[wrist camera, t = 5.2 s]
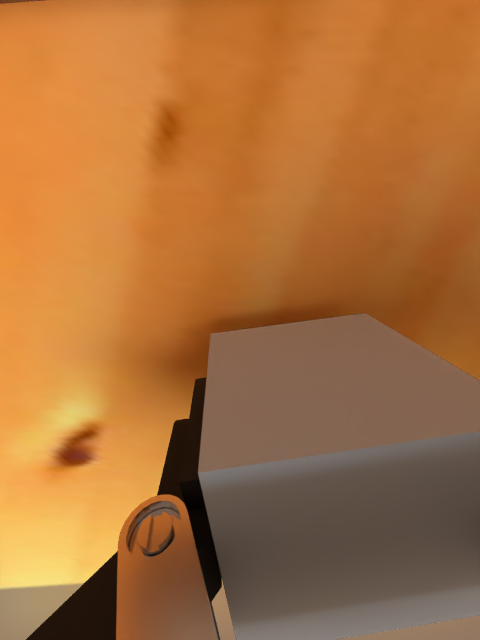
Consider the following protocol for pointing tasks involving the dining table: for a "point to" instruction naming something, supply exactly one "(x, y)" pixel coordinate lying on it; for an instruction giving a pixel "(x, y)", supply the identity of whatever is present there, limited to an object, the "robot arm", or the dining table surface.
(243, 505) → the stack cube
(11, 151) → the dining table surface
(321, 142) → the dining table surface
